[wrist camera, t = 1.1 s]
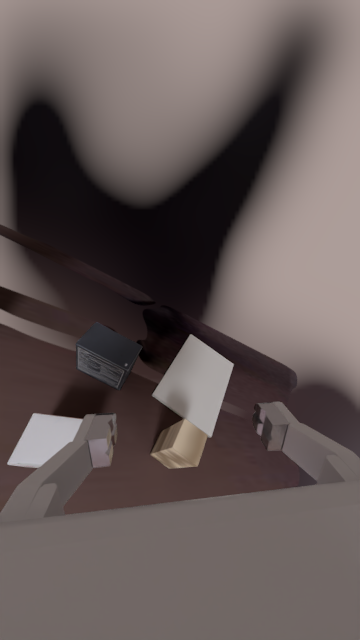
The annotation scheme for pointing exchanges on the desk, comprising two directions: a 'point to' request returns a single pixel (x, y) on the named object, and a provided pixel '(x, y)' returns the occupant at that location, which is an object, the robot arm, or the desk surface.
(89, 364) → the small box
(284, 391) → the desk surface
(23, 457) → the small box
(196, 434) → the maple block
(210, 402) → the rubber mat
